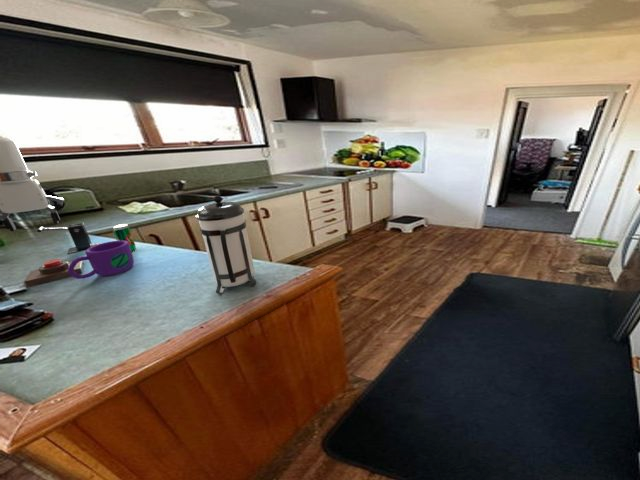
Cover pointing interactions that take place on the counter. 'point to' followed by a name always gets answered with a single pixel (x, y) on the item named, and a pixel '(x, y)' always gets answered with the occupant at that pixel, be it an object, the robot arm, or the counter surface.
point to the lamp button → (52, 263)
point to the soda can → (124, 235)
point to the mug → (105, 259)
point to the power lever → (50, 229)
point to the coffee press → (226, 243)
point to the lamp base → (52, 273)
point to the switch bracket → (80, 238)
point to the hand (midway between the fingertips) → (36, 226)
